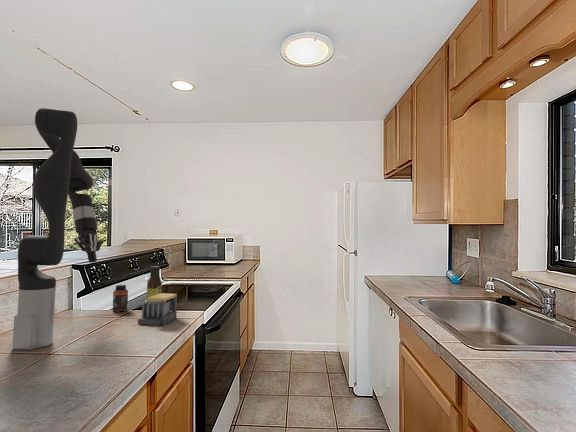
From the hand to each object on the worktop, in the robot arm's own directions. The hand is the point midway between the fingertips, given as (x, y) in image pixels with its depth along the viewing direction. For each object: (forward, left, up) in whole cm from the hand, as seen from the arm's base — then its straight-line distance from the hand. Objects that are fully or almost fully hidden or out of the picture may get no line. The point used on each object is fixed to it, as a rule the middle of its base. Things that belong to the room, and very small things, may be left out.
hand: (93, 261), depth 132 cm
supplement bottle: (+21, +1, -23) cm, 32 cm away
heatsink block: (+8, -22, -23) cm, 33 cm away
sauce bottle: (+22, -14, -23) cm, 35 cm away
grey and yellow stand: (+7, -23, -23) cm, 33 cm away
